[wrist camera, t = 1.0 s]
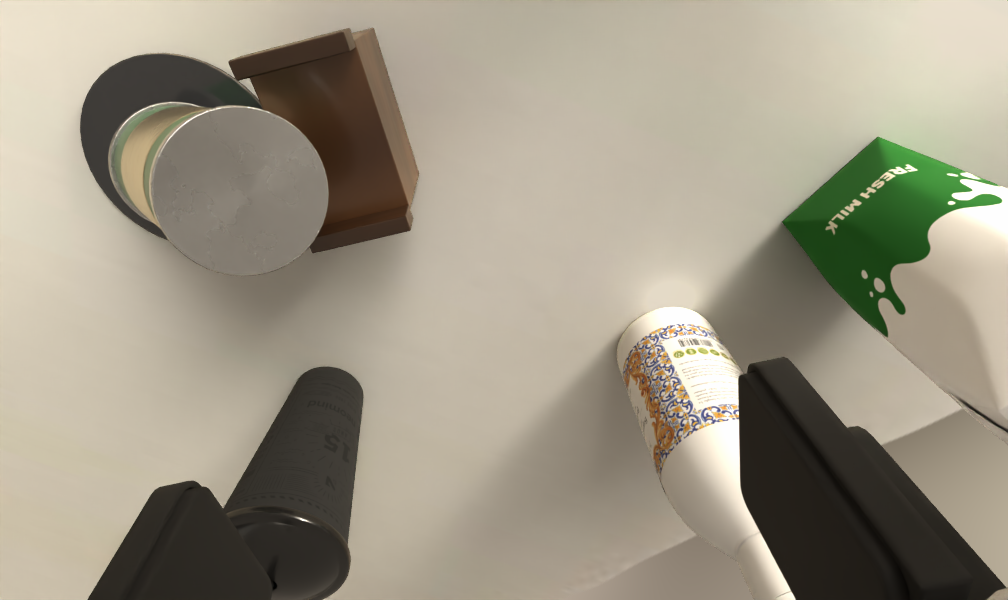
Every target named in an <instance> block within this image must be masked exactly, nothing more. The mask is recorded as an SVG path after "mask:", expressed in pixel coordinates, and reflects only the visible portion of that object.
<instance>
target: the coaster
mask: <svg viewBox="0 0 1008 600" xmlns="http://www.w3.org/2000/svg"><path fill="white" fill-rule="evenodd" d="M160 102H184V103H190V104H194V105H198V106H200V107H206V108H214V107H219V106H228V105H233V106H248V107H255V108H259V109H262V110H263V108H262V105H261V103H260V101H259V100H258V99H257V98H256V97H255V96H254V95H253V94H252V93H251V92H250V91H249V90H248V89H247V88H246V87H245V86H244V85H243V84H241V83H240V82H239V81H237V80H236V79H235V78H234V77H232V76H230V75H229V74H227V73H226V72H224V71H223V70H221V69H219V68H217V67H215V66H213V65H211V64H209V63H206V62H204V61H201V60H198V59H195V58H192V57H188V56H183V55H179V54H170V53H149V54H144V55H138V56H134V57H131V58H128V59H126V60H123V61H121V62H119V63H117V64H115V65H113V66H112V67H110V68H109V69H108V70H106V71H105V72H104V73H103V74H101V75H100V77H99V78H98V79H97V80H96V81H95V82H94V84H93V85H92V87H91V89H90V90H89V92H88V94H87V96H86V99H85V102H84V104H83V108H82V113H81V121H80V133H81V141H82V147H83V150H84V154H85V158H86V160H87V163H88V165H89V168H90V170H91V172H92V174H93V176H94V177H95V179H96V181H97V183H98V184H99V186H100V187H101V189H102V190H103V191H104V193H105V194H106V195H107V197H108V198H109V199H110V200H111V201H112V202H113V204H114V205H115V206H116V207H117V208H119V209H120V210H121V211H122V212H123V213H124V214H125V215H126V216H127V217H129V218H130V219H131V220H132V221H134V222H135V223H136V224H138V225H140V226H141V227H143V228H144V229H146V230H147V231H149V232H151V233H153V234H155V235H157V236H159V237H162V238H164V239H166V240H168V238H167V237H166V236H165V234H164V233H163V231H162V230H161V229H160V228H159V227H158V226H157V225H155V224H154V223H152V222H150V221H148V220H146V219H144V218H143V217H141V216H140V215H139V214H137V213H136V212H135V211H134V210H133V209H131V208H130V207H129V206H128V205H127V204H126V203H125V201H124V200H123V199H122V198H121V196H120V195H119V193H118V192H117V190H116V188H115V186H114V184H113V181H112V178H111V176H110V171H109V164H108V155H109V148H110V144H111V141H112V138H113V136H114V134H115V132H116V130H117V129H118V127H119V126H120V125H121V123H122V122H123V121H124V120H125V119H126V118H127V117H129V116H130V115H131V114H133V113H134V112H136V111H137V110H139V109H141V108H143V107H146V106H148V105H151V104H156V103H160Z"/></svg>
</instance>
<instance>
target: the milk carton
mask: <svg viewBox="0 0 1008 600" xmlns="http://www.w3.org/2000/svg"><path fill="white" fill-rule="evenodd" d="M782 223H783V224H784V225H785V226H786V228H787V229H788V230H789V232H790V233H791V234H792V235H793V237H794V238H795V239H796V241H797V242H798V243H799V244H800V246H801V247H802V248H803V250H804V251H805V252H806V254H807V255H808V256H809V258H810V259H811V261H812V262H813V263H814V265H815V266H816V267H817V269H818V270H819V271H820V273H821V274H822V275H823V277H824V278H825V279H826V280H827V282H828V283H829V284H830V285H831V286H832V288H833V289H834V290H835V291H836V292H837V293H838V294H839V295H840V296H841V297H842V298H843V299H844V300H845V301H846V302H847V303H848V304H849V305H850V307H851V308H853V309H854V310H855V311H856V312H857V313H858V314H859V315H860V316H861V317H862V318H863V319H864V320H865V321H866V322H867V323H869V324H870V325H871V326H872V327H873V328H874V329H875V330H876V331H877V332H879V333H880V334H881V335H882V336H883V337H884V338H885V339H886V340H887V341H888V342H890V343H891V344H892V345H893V346H894V347H895V348H896V349H897V350H898V351H899V352H901V353H902V354H903V355H904V356H905V357H906V358H907V359H908V360H909V361H911V362H912V363H913V364H914V365H915V366H916V367H917V368H918V369H919V370H920V371H922V372H923V373H924V374H925V375H926V376H927V377H928V378H929V379H930V380H932V381H933V382H934V383H935V384H936V385H937V386H938V387H939V388H941V389H942V390H943V391H944V392H945V393H947V394H948V395H949V396H950V397H951V398H953V399H954V400H955V401H956V402H957V403H958V404H959V405H960V406H961V407H962V408H963V409H964V410H966V411H967V412H968V413H969V414H971V416H973V417H974V418H975V419H976V420H977V421H978V422H980V423H981V424H982V425H983V426H985V427H986V428H987V429H988V430H990V431H991V432H992V433H993V434H995V435H996V436H997V437H998V438H1000V439H1001V440H1002V441H1004V442H1005V443H1006V444H1007V445H1008V189H1007V188H1004V187H1002V186H999V185H997V184H995V183H992V182H990V181H987V180H985V179H982V178H980V177H977V176H975V175H972V174H970V173H967V172H965V171H962V170H960V169H958V168H955V167H953V166H950V165H948V164H945V163H943V162H940V161H938V160H935V159H933V158H930V157H928V156H925V155H923V154H920V153H917V152H915V151H912V150H910V149H907V148H905V147H902V146H900V145H897V144H894V143H892V142H890V141H887V140H885V139H882V138H880V137H877V138H876V139H875V140H874V141H873V142H872V143H870V144H869V145H868V146H867V147H866V148H865V149H864V150H863V151H861V152H860V153H859V154H858V155H857V156H856V157H855V158H854V159H852V160H851V161H850V162H849V163H848V164H847V165H846V166H845V167H843V168H842V169H841V170H840V171H839V172H838V173H837V174H835V175H834V176H833V177H832V178H831V179H830V180H829V181H828V182H826V183H825V184H824V185H823V186H822V187H821V188H820V189H819V190H817V191H816V192H815V193H814V194H813V195H812V196H811V197H810V198H808V199H807V200H806V201H805V202H804V203H803V204H802V205H801V206H799V207H798V208H797V209H796V210H795V211H794V212H793V213H792V214H790V215H789V216H788V217H787V218H786V219H785V220H784V221H783V222H782Z"/></svg>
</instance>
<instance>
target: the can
mask: <svg viewBox="0 0 1008 600" xmlns="http://www.w3.org/2000/svg"><path fill="white" fill-rule="evenodd" d="M108 164H109V171H110V176H111V178H112V181H113V184H114V186H115V188H116V190H117V192H118V193H119V195H120V196H121V198H122V199H123V200H124V201H125V203H126V204H127V205H128V206H129V207H130V208H131V209H133V210H134V211H135V212H136V213H137V214H139V215H140V216H141V217H143V218H144V219H146V220H148V221H150V222H152V223H154V224H155V225H157V226H158V227H159V228H160V229H161V230H162V231H163V233H164V234H165V236H166V237H167V238H168V240H169V241H170V242H171V243H172V244H173V245H174V246H175V247H176V248H177V249H178V250H179V251H180V252H181V253H183V254H184V255H185V256H186V257H187V258H189V259H190V260H192V261H193V262H195V263H196V264H199V265H201V266H203V267H205V268H207V269H209V270H212V271H215V272H218V273H222V274H227V275H235V276H253V275H260V274H265V273H268V272H272V271H275V270H277V269H279V268H282V267H284V266H286V265H287V264H289V263H291V262H292V261H294V260H295V259H296V258H298V257H299V256H300V255H301V254H302V253H304V252H305V251H306V250H307V249H308V247H309V246H310V245H311V244H312V243H313V241H314V240H315V238H316V237H317V235H318V233H319V232H320V229H321V227H322V225H323V223H324V220H325V216H326V213H327V207H328V197H329V192H328V181H327V176H326V172H325V169H324V166H323V163H322V161H321V159H320V157H319V155H318V153H317V151H316V150H315V148H314V146H313V145H312V143H311V142H310V141H309V140H308V139H307V137H306V136H305V135H304V134H303V133H302V132H301V131H300V130H299V129H298V128H296V127H295V126H294V125H292V124H291V123H290V122H288V121H287V120H285V119H283V118H282V117H280V116H278V115H276V114H273V113H271V112H269V111H266V110H262V109H259V108H255V107H248V106H233V105H228V106H219V107H214V108H206V107H200V106H198V105H194V104H190V103H184V102H160V103H156V104H151V105H148V106H146V107H143V108H141V109H139V110H137V111H136V112H134V113H133V114H131V115H130V116H129V117H127V118H126V119H125V120H124V121H123V122H122V123H121V125H120V126H119V127H118V129H117V130H116V132H115V134H114V136H113V138H112V141H111V144H110V148H109V155H108Z"/></svg>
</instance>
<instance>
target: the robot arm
mask: <svg viewBox="0 0 1008 600" xmlns="http://www.w3.org/2000/svg"><path fill="white" fill-rule="evenodd" d="M738 404H739V454H740V488H741V493H742V496H743V499H744V502H745V504H746V506H747V508H748V510H749V512H750V514H751V516H752V518H753V520H754V522H755V524H756V526H757V527H758V529H759V531H760V533H761V535H762V537H763V539H764V541H765V543H766V544H767V546H768V548H769V550H770V552H771V554H772V556H773V558H774V560H775V561H776V563H777V565H778V567H779V569H780V571H781V573H782V575H783V577H784V578H785V580H786V582H787V584H788V586H789V588H790V590H791V592H792V594H793V596H794V597H795V599H796V600H1008V588H1006V587H1005V586H1004V584H1003V583H1002V582H1001V581H1000V580H999V579H998V578H997V577H996V575H995V574H994V573H993V572H992V571H991V570H990V568H989V567H988V566H987V565H986V564H985V563H984V562H983V561H982V559H981V558H980V557H979V556H978V555H977V554H976V553H975V551H974V550H973V549H972V548H971V547H970V546H969V545H968V544H967V542H966V541H965V540H964V539H963V538H962V537H961V536H960V535H959V533H958V532H957V531H956V530H955V529H954V528H953V527H952V526H951V524H950V523H949V522H948V521H947V520H946V519H945V518H944V516H943V515H942V514H941V513H940V512H939V511H938V510H937V508H936V507H935V506H934V505H933V504H932V503H931V502H930V501H929V499H928V498H927V497H926V496H925V495H924V494H923V493H922V491H921V490H920V489H919V488H918V487H917V486H916V485H915V484H914V483H913V481H912V480H911V479H910V478H909V477H908V476H907V474H906V473H905V472H904V471H903V470H902V469H901V468H900V467H899V465H898V464H897V463H896V462H895V461H894V460H893V459H892V457H890V455H889V454H888V453H887V452H886V451H885V450H884V448H883V447H882V446H881V445H880V444H879V443H878V442H877V441H876V439H875V438H874V437H873V436H872V435H871V434H870V433H868V432H867V431H866V430H865V429H863V428H861V427H859V426H855V427H848V428H847V427H846V426H845V425H844V424H843V423H842V421H841V420H840V419H839V418H838V417H837V415H836V414H835V413H834V412H833V411H832V410H831V408H830V407H829V406H828V405H827V404H826V402H825V401H824V400H823V399H822V398H821V396H820V395H819V394H818V393H817V392H816V391H815V389H814V388H813V387H812V386H811V385H810V383H809V382H808V381H807V380H806V379H805V377H804V376H803V375H802V374H801V373H800V372H799V370H798V369H797V368H796V367H795V366H794V364H793V363H792V362H791V361H790V360H789V359H788V358H785V357H781V358H776V359H771V360H767V361H762V362H757V363H752V364H750V365H749V366H748V371H747V374H743V375H740V376H739V378H738ZM271 597H272V584H271V580H270V578H269V576H268V575H267V573H266V572H265V570H264V569H263V567H262V566H261V564H260V563H259V561H258V560H257V558H256V557H255V556H254V554H253V553H252V551H251V550H250V548H249V547H248V545H247V544H246V542H245V541H244V539H243V538H242V536H241V535H240V533H239V532H238V530H237V529H236V528H235V526H234V525H233V523H232V522H231V520H230V519H229V517H228V516H227V514H226V513H225V511H224V510H223V508H222V507H221V505H220V504H219V502H218V501H217V500H216V498H215V497H214V495H213V494H212V492H211V491H210V490H209V489H208V488H207V487H202V486H201V485H200V484H199V483H198V482H195V481H186V482H182V483H177V484H172V485H167V486H162V487H159V488H157V489H156V490H155V491H154V492H153V493H152V494H151V496H150V497H149V499H148V501H147V502H146V504H145V506H144V507H143V509H142V511H141V512H140V514H139V516H138V517H137V519H136V521H135V522H134V524H133V525H132V527H131V529H130V530H129V532H128V534H127V535H126V537H125V539H124V540H123V542H122V544H121V545H120V547H119V549H118V550H117V552H116V553H115V555H114V557H113V558H112V560H111V562H110V563H109V565H108V567H107V568H106V570H105V572H104V573H103V575H102V577H101V578H100V580H99V582H98V583H97V585H96V586H95V588H94V590H93V591H92V593H91V595H90V596H89V598H88V600H271Z"/></svg>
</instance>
